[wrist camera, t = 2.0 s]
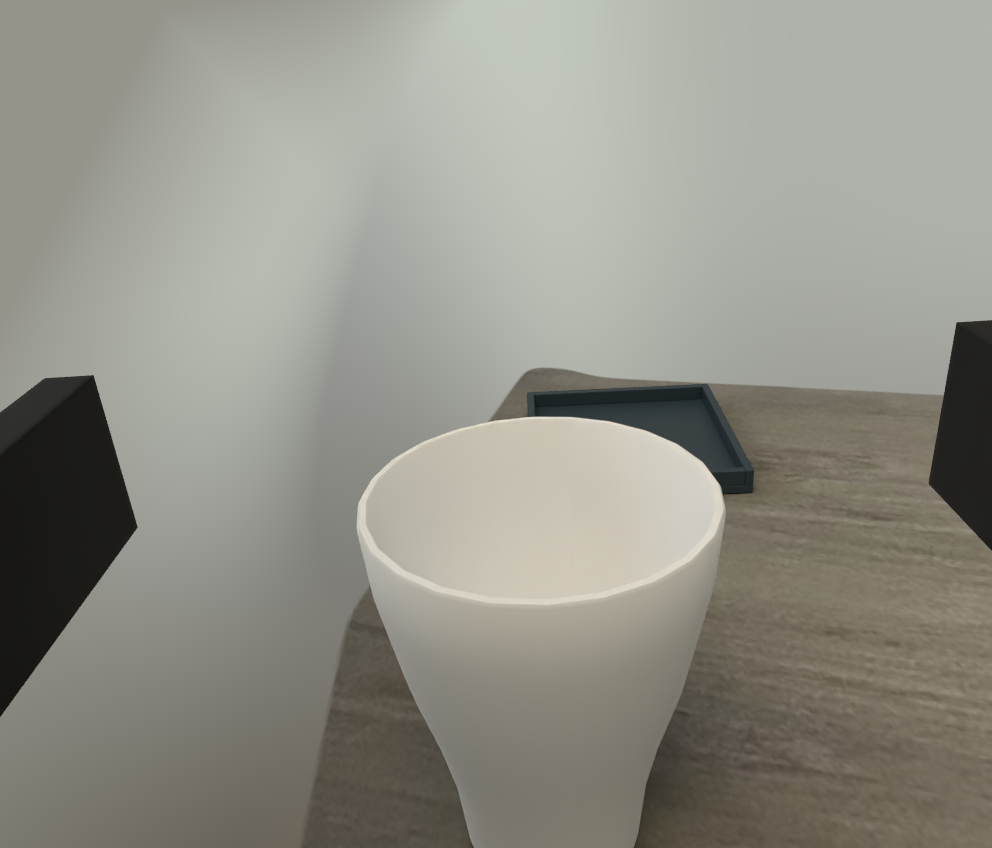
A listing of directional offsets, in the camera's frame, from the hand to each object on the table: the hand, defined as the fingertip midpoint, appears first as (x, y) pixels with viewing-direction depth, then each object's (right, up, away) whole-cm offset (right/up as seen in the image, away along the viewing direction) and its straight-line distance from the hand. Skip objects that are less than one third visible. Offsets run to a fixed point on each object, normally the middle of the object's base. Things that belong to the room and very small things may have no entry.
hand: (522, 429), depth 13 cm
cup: (+2, -14, +17) cm, 22 cm away
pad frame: (+8, -1, +42) cm, 43 cm away
